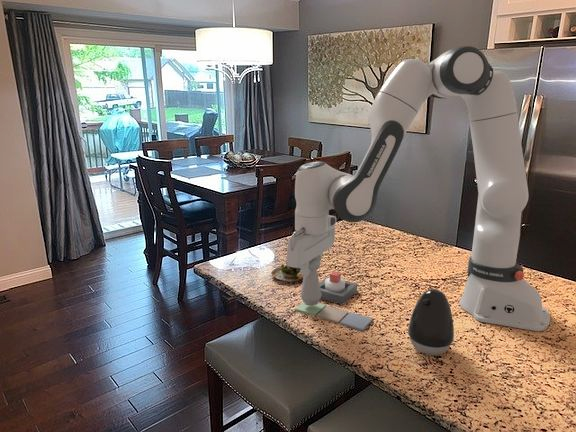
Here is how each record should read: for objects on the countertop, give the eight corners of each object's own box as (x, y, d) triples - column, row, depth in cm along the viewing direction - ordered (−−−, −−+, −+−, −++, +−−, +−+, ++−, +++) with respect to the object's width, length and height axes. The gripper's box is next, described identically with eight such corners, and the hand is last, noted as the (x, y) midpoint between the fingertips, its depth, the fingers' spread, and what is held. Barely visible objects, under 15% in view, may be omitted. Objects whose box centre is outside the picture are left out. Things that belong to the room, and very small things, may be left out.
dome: (348, 290, 132) (348, 272, 130) (339, 298, 127) (339, 279, 125) (330, 286, 135) (330, 268, 133) (321, 293, 130) (321, 274, 128)
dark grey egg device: (398, 348, 103) (402, 290, 99) (420, 332, 110) (425, 276, 106) (438, 367, 96) (445, 305, 92) (459, 348, 103) (466, 290, 99)
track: (372, 320, 116) (372, 318, 116) (362, 331, 111) (362, 329, 110) (306, 301, 126) (306, 299, 126) (294, 310, 121) (294, 308, 121)
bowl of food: (266, 273, 146) (266, 252, 144) (299, 268, 150) (299, 248, 148) (279, 288, 135) (279, 265, 133) (313, 282, 140) (313, 260, 137)
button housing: (356, 291, 132) (357, 283, 132) (342, 304, 124) (342, 296, 124) (327, 283, 138) (327, 276, 137) (312, 296, 130) (312, 288, 129)
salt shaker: (321, 298, 124) (322, 255, 120) (321, 307, 119) (321, 263, 115) (301, 297, 125) (301, 254, 121) (299, 306, 119) (299, 262, 116)
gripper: (301, 236, 105) (301, 288, 109) (339, 216, 122) (338, 262, 125) (279, 232, 108) (280, 282, 112) (319, 212, 125) (319, 257, 129)
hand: (311, 271), depth 119 cm, fingers closed on salt shaker, 4 cm apart
